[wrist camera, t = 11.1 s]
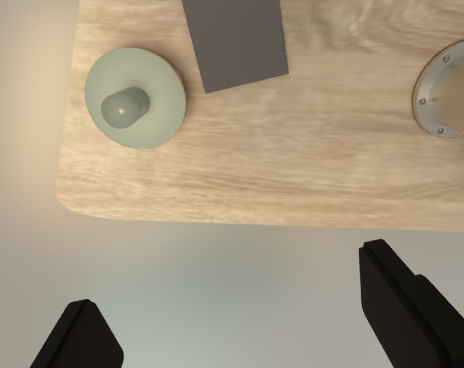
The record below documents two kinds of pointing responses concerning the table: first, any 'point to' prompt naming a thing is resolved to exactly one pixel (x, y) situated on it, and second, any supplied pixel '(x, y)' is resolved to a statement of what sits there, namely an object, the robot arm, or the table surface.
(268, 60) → the mat
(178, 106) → the lid
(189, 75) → the table surface
